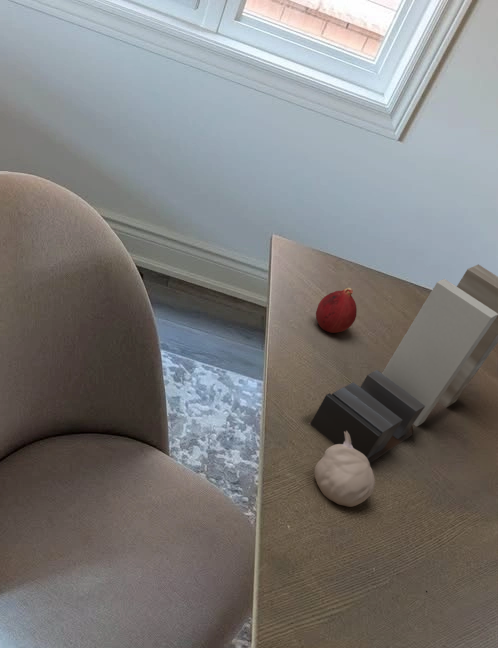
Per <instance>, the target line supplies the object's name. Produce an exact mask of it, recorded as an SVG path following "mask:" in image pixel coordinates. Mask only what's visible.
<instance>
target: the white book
mask: <svg viewBox="0 0 498 648" xmlns="http://www.w3.org/2000/svg"><path fill="white" fill-rule="evenodd" d="M497 316H498V313H496V312H495V311H493V310H492V309H490V308H489V307H487V306H486V305H484V304H482V303H481V302H479V301H478V300H476V299H475V298H473V297H472V296H470V295H469V294H467V293H466V292H464V291H463V290H461V289H459V288H458V287H457V285H455V284H453V283H452V282H450V281H449V280H447V279H446V278H443V279H441V280H438V281H436V283H435V285H434V286H433V288H432V290H431V291H430V293H429V295H428V296H427V298H426V299H425V301H424V303H423V305H421V308H420V310H419V311H418V313H417V314H416V316H415V318H414V319H413V321H412V323H411V325H410V326H409V328H408V329H407V331H406V333H405V334H404V336H403V337H402V339H401V341H400V342H399V345H398V346H397V348H396V349H395V350H394V353H393V354H392V356H391V357H390V359H389V361H388V363H387V364H386V366H385V367H384V369H383V371H382V372H381V373H382V374H383V375H385V376H386V377H387V378H389V379H390V380H391V381H393V382H394V383H395V384H397V385H398V386H399V387H401V388H402V389H403V390H405V391H406V392H407V393H409V394H410V395H412V396H413V397H414V398H416V399H417V400H418V401H420V402H421V403H422V404H424V405H425V407H424V409H423V410H422V412H421V413H420V415H419V416H418V418H417V419H416V420H415V422H414V423H413V425H414V426H415V427H419V426H421V425H422V424H423V423H424V422H425V421H426V420H427V418H428V417H429V416H430V414H431V413H432V412H433V410H434V408H435V407H436V405H437V404H438V401H439V399H440V398H441V397H442V395H443V394H444V392H445V391H446V389H447V388H448V386H449V385H450V384H451V382H452V381H453V379H454V378H455V376H456V375H457V373H458V372H459V371H460V369H461V368H462V366H463V365H464V363H465V362H466V360H467V359H468V358H469V356H470V355H471V353H472V352H473V350H474V349H475V347H476V346H477V345H478V343H479V342H480V340H481V339H482V337H483V336H484V334H485V333H486V332H487V330H488V329H489V327H490V326H491V324H492V323H493V321H494V320H495V319H496V317H497Z"/></svg>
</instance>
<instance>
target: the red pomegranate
mask: <svg viewBox="0 0 498 648" xmlns="http://www.w3.org/2000/svg"><path fill="white" fill-rule="evenodd" d="M353 293H354V291H353V288H352V287H346V288H344V289H341V290H335V291H333V292H330V293H328V294H327V295H325V296H324V297H322V299H321V300H320V301H319V303H318V305H317V308H316V311H315V320H316V321H317V324H318V326H319V327H320V328H321V329H322V330H323V331H325V332H326V333H329V334H330V333H331V334H336V333H341V332H345V331H346V330H348V329H349V328H350V327H352V326H353V324H354V323H355V322H356V318H357V312H358V311H357V303H356V301H355V299H354V297H353V296H352V294H353Z"/></svg>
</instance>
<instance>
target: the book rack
mask: <svg viewBox="0 0 498 648" xmlns="http://www.w3.org/2000/svg"><path fill="white" fill-rule="evenodd" d="M456 287H458V288H459V289H461V290H463V291H464V292H466V293H467V294H469V295H470V296H472V297H473V298H475V299H476V300H478V301H479V302H481V303H482V304H484V305H486V306H487V307H489V308H490V309H492V310H493V311H495V312H496V313H498V275H496V274H495V273H493V272H491V271H490V270H488V269H487V268H486V267H483V266H482V265H480V264H476V265H474V266H471V267H469V268H467V269H466V271H465V273H464V274H463V275H462V277H461V278H460V280H459V282H458V283H457V285H456ZM497 345H498V316H497V317H496V319H495V320H494V321H493V323H492V324H491V326H490V327H489V329H488V330H487V332H486V333H485V334H484V336H483V337H482V339H481V340H480V342H479V343H478V345H477V346H476V347H475V349H474V350H473V352H472V353H471V355H470V356H469V358H468V359H467V360H466V362H465V363H464V365H463V366H462V368H461V369H460V371H459V372H458V373H457V375H456V376H455V378H454V379H453V381H452V382H451V384H450V385H449V386H448V388H447V389H446V391H445V392H444V394H443V395H442V397H441V398H440V399H439V401H438V402H437V404H440V405H441V406H442V407H443V408H445V409H446V408H448V407H450V406H451V405H453V404H454V403H457V401H458V399H459V398H460V397H461V395H462V393H464V391H465V390H466V388H467V386H468V385H469V384H470V382H471V381H472V380H473V378H474V377H475V375H476V374H477V372H478V371H479V370H480V368H481V367H482V365H483V364H484V363H485V362H486V360H487V359H488V358H489V356H490V354H491V353H492V352H493V350H494V349H495V347H496V346H497ZM382 373H383V372H381V371H379V370H378V369H375V370H374V371H372V372H370V373H368V374H367V375H366V377H365V378H364V380H363V382H362V383H361V385H360V386H359V385H358V384H357V383H355V382H351V383H349V384H347V385H346V386H343V387H341V388H339V389H337V390H336V391H334V392H332V393H331V392H329V393H326V394H325V396H324V398H323V400H322V402H321V404H320V405H319V406H318V409H317V411H316V412H315V415H314V416H313V418H312V419H311V420H309V421H308V422H307V423H308V424H309V426H311V427H312V428H314V429H315V430H316V431H317V432H319V433H320V434H321V435H322V436H323V437H325V438H326V440H328V441H329V442H330V443H332V444H333V445H336V444H343V443H344V441H345V435H344V432H346V431H347V432H348V433H349V435H350V438H351V444H352V446H353V448H354V449H356V450H357V451H359V452H361V453H362V454H364V455H365V456H366V457H367V459H368V461H369V463H370V464H371V463H372V462H374V461H375V460H377V459H378V458H380V457H381V456H383V455H385V454H386V453H387V452H389V451H390V450H392V449H394V448H396V447H397V446H398V445H400V444H401V443H403V442H404V441H407V439H409V438H411V437H412V436H414V426H413V425H414V424H413V423H414V422H415V420H416V419H417V418H418V416H419V415H420V413H421V412H422V410H423V409H424V407H425V405H424V404H422V403H421V402H420V401H418V400H417V399H416V398H414V397H413V396H412V395H410V394H409V393H407V392H406V391H405V390H403V389H402V388H401V387H399V386H398V385H397V384H395V383H394V382H393V381H391V380H390V379H389V378H387V377H386V376H385V375H383V374H382Z"/></svg>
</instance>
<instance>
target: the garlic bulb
mask: <svg viewBox="0 0 498 648" xmlns="http://www.w3.org/2000/svg"><path fill="white" fill-rule="evenodd" d="M344 435H345V441H344V443H343V444H336V445H334V444H333V445H331V446H329V447H327V448H326V449H325V452H324V454H323V456H322V457H321V459H319V460H318V462H317V463H316V465H315V466H314V472H313V473H314V478H315V481H316V484H317V487H318V488H319V490H320V491H321V494H322V495H323V496H324V497H326V498H327V499H328V500H329V501H331V502H333V503H334V504H336V505H339V506H344V507H349V508H351V507H356V506H358V505H360V504H362V503H364V502H365V501H367V500H368V499H369V498H370V497H371V495H372V494H373V492H374V490H375V486H376V479H375V478H376V477H375V473H374V470H373V469H372V467H371V463H369V461H368V459H367V457H366V456H365V455H364V454H362V453H361V452H359V451H357V450H356V449H354V448H353V446H352V444H351V438H350V435H349V433H348V432H347V431H346V432H344Z"/></svg>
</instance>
